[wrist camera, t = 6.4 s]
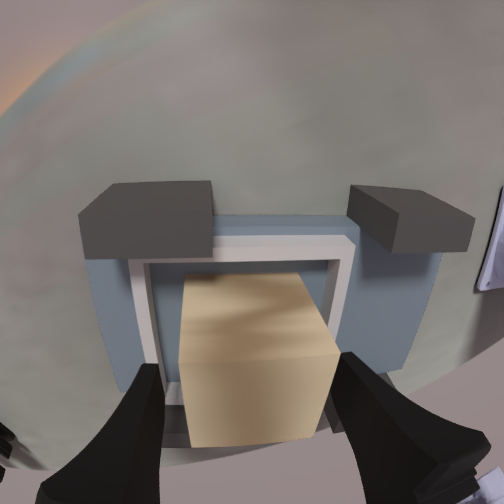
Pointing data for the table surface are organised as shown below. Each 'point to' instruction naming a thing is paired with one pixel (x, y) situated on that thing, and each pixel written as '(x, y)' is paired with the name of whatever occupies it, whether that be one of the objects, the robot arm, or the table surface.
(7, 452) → the end cap
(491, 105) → the table surface
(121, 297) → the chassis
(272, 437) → the block
